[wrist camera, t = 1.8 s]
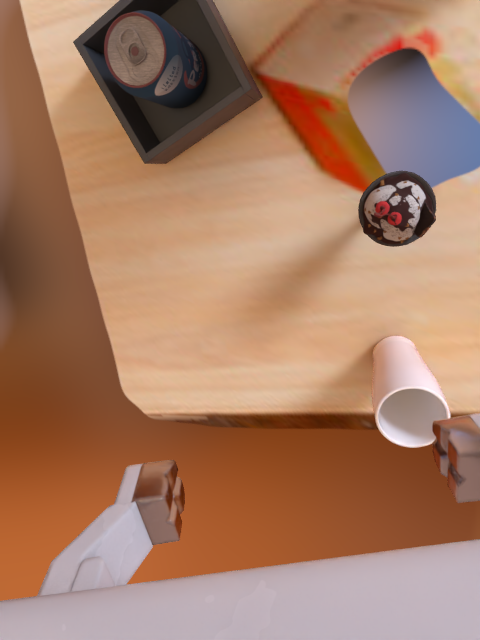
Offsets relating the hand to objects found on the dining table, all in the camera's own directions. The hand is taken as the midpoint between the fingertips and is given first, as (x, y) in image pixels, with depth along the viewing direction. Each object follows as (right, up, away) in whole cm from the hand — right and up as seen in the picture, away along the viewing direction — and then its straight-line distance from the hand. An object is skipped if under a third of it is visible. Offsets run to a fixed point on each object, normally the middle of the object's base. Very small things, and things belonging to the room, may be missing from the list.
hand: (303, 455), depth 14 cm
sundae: (+14, +18, +36) cm, 42 cm away
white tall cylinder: (+17, 0, +41) cm, 45 cm away
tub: (-9, +32, +36) cm, 48 cm away
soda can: (-9, +32, +36) cm, 48 cm away
